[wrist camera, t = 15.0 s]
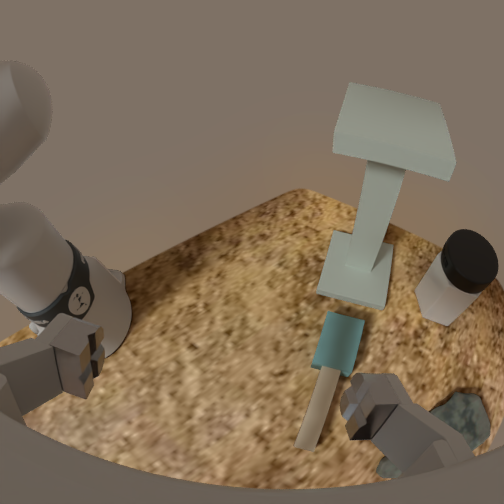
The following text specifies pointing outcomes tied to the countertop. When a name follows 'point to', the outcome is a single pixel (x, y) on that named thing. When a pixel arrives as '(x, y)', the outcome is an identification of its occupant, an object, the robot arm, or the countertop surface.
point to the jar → (456, 277)
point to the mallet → (329, 372)
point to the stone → (453, 425)
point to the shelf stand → (381, 183)
